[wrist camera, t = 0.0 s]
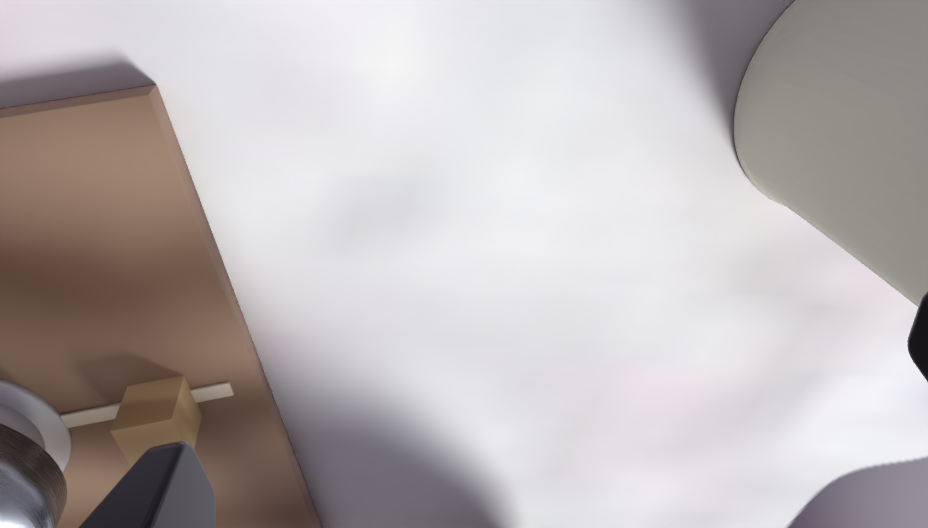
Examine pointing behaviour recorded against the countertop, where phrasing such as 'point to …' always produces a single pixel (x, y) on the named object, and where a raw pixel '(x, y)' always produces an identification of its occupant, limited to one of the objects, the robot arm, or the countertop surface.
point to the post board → (128, 313)
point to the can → (845, 128)
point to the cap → (29, 483)
